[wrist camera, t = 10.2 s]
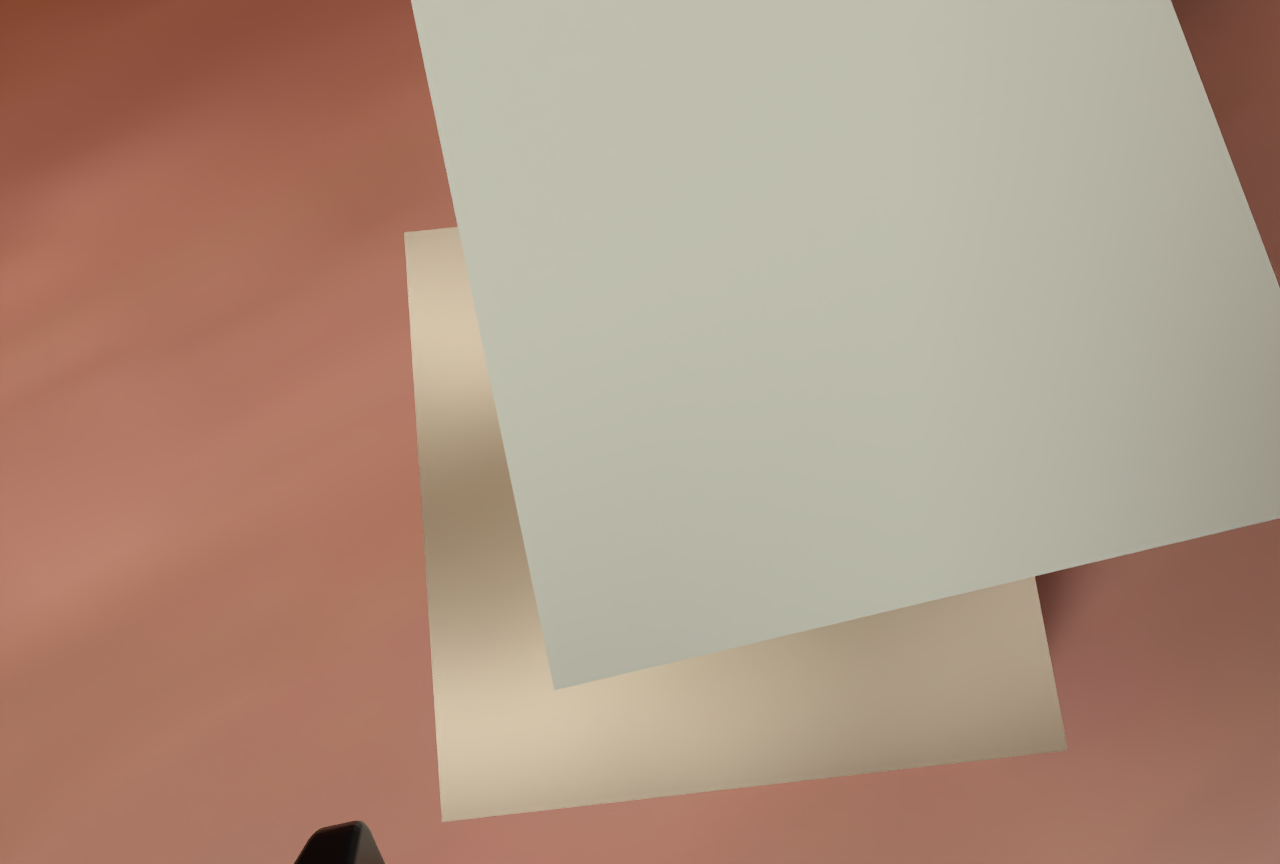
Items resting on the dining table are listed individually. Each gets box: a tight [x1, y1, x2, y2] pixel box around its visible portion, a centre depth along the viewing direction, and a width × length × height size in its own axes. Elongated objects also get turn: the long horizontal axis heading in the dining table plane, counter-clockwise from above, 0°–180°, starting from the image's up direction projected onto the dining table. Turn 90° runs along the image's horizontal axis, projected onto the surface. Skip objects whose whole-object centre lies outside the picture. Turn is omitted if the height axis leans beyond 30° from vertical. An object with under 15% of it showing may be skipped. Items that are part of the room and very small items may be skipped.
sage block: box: [411, 0, 1280, 690], centre depth 12 cm, size 5×5×11 cm
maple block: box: [404, 227, 1068, 822], centre depth 19 cm, size 10×10×4 cm
